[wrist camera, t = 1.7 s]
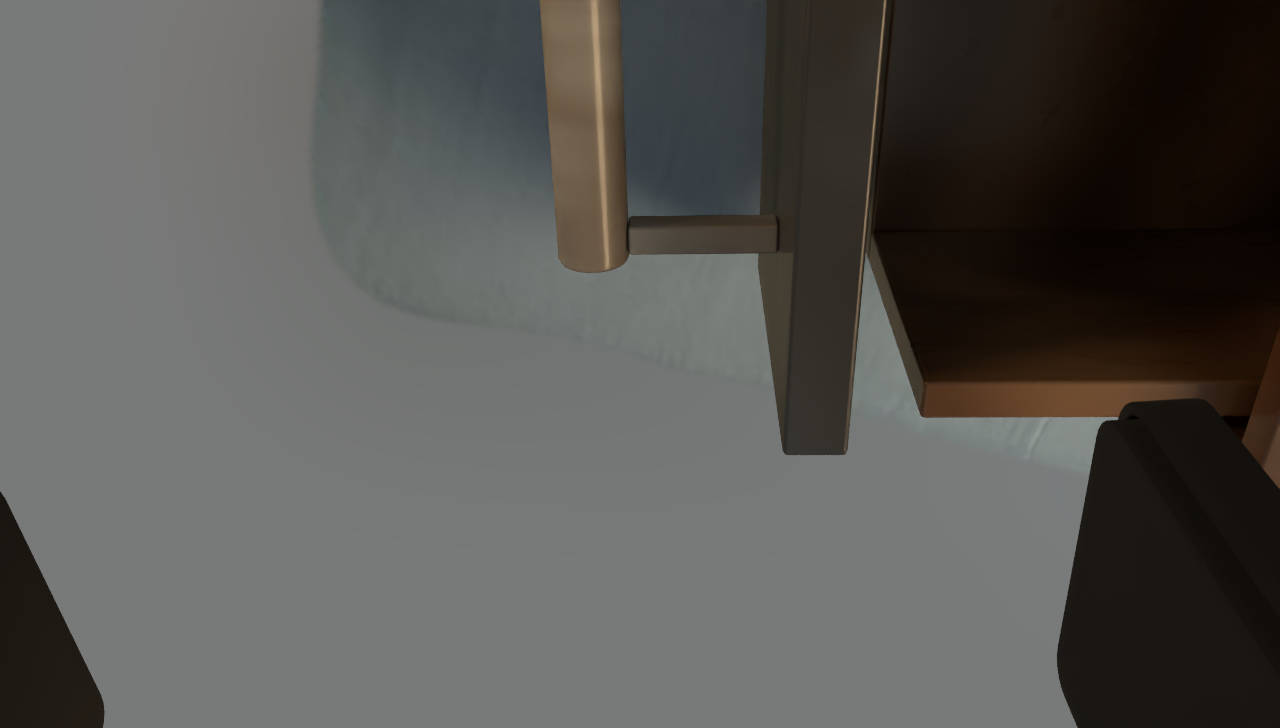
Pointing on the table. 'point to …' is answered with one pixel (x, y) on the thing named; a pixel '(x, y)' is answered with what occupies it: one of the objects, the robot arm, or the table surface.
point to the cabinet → (1263, 419)
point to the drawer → (976, 198)
